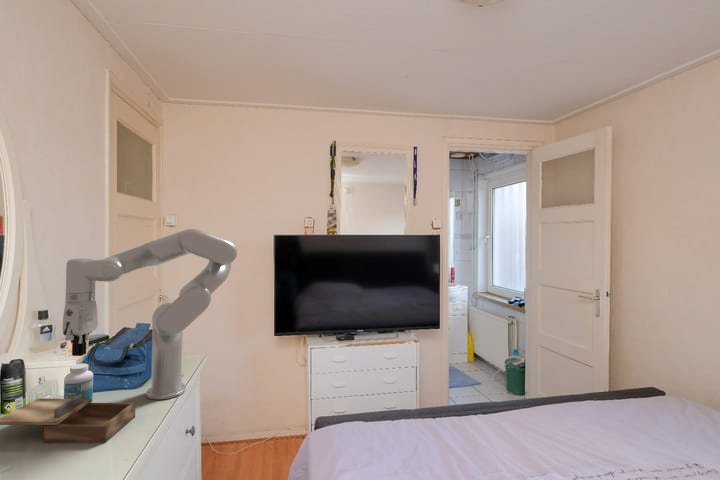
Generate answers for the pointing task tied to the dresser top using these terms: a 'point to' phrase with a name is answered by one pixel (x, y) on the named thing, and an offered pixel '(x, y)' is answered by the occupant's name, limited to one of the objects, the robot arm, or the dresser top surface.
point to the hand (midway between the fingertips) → (79, 354)
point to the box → (91, 424)
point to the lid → (45, 411)
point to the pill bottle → (79, 382)
